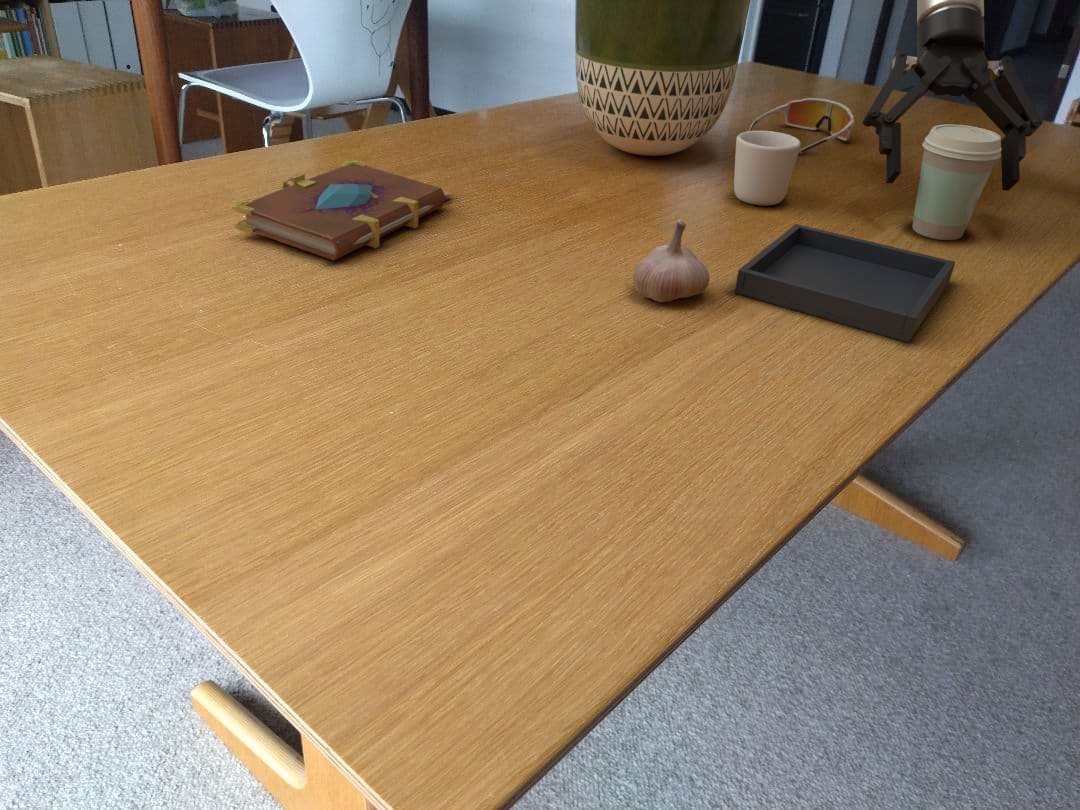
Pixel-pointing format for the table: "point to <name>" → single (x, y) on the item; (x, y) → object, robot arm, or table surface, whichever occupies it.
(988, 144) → the coffee cup
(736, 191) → the cup
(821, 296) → the slate tray
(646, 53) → the planter
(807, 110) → the sunglasses
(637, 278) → the garlic bulb
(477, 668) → the table surface
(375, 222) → the book
